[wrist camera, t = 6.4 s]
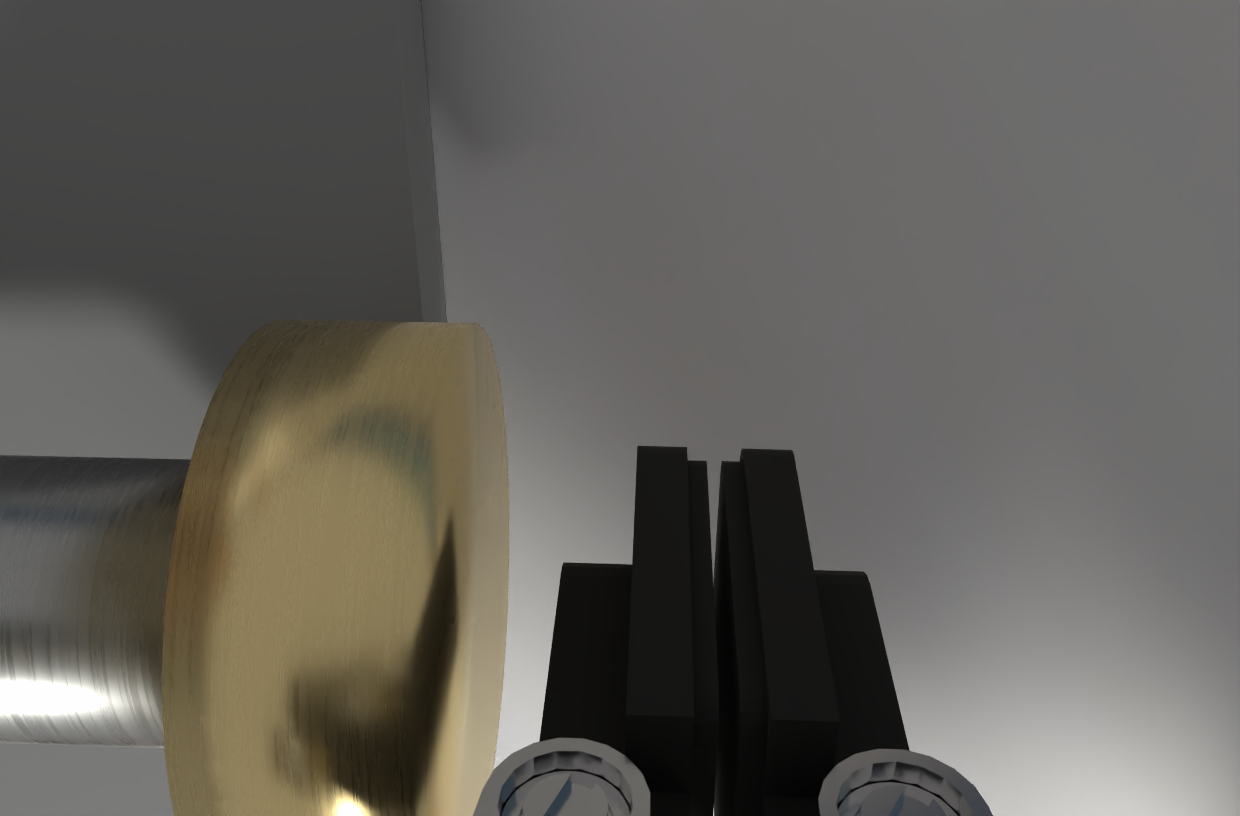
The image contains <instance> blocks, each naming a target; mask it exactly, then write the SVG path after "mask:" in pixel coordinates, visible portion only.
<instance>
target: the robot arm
mask: <svg viewBox="0 0 1240 816" xmlns="http://www.w3.org/2000/svg"><path fill="white" fill-rule="evenodd" d="M713 808H714V816H993V815H992V813H991V811H990V809H989V806H988V805H987V804H986V802H985V801H984V799H983V798H982V796H981V795H980V793H979V792H978V790H977V789H976V788H975V786H974V785H973V784H971V783H970V782H969V781H968V780H967V779H966V778H964V777H963V776H962V775H961V774H960V773H959V772H957V771H956V770H955V769H953V768H952V767H950V766H948V765H946V764H944V763H942V762H940V761H938V760H936V759H934V758H932V757H930V756H926V755H923V754H919V753H915V752H912V751H909V747H908V742H907V738H906V734H905V730H904V725H903V721H902V717H901V713H900V709H899V704H898V700H897V696H896V692H895V687H894V683H893V679H892V675H891V670H890V666H889V662H888V658H887V654H886V649H885V645H884V641H883V637H882V632H881V628H880V624H879V620H878V616H877V611H876V607H875V603H874V599H873V594H872V590H871V586H870V583H869V580H868V577H867V575H866V574H865V573H864V572H859V571H826V570H814V568H813V562H812V556H811V550H810V545H809V539H808V533H807V527H806V522H805V516H804V510H803V504H802V498H801V493H800V487H799V481H798V475H797V470H796V464H795V458H794V454H793V451H792V450H772V449H742V450H741V455H740V462H728V461H722V464H721V474H720V490H719V505H718V521H717V537H716V552H715V568H714V584H713V573H712V554H711V534H710V515H709V496H708V477H707V462H706V461H692V460H688V457H687V447H663V446H638V449H637V471H636V494H635V517H634V540H633V563H632V565H627V564H594V563H563V566H562V571H561V577H560V585H559V593H558V601H557V609H556V616H555V624H554V632H553V640H552V648H551V655H550V663H549V671H548V679H547V687H546V695H545V702H544V710H543V718H542V726H541V734H540V741H539V742H536V743H533V744H531V745H529V746H526V747H524V748H522V749H520V750H518V751H516V752H514V753H512V754H511V755H510V756H508V757H507V758H506V759H505V760H504V761H503V762H502V763H501V764H499V765H498V766H497V767H496V768H495V769H494V770H493V772H492V774H491V775H490V777H489V779H488V780H487V782H486V784H485V786H484V787H483V789H482V792H481V795H480V797H479V800H478V803H477V805H476V808H475V811H474V814H473V816H713Z"/></svg>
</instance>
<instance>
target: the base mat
mask: <svg viewBox="0 0 1240 816" xmlns="http://www.w3.org/2000/svg"><path fill="white" fill-rule="evenodd" d="M277 319H279V320H332V321H385V322H437V323H447V318H446V306H445V293H444V281H443V269H442V256H441V244H440V232H439V219H438V207H437V195H436V182H435V170H434V158H433V145H432V133H431V121H430V108H429V96H428V83H427V71H426V59H425V46H424V34H423V22H422V9H421V0H0V455H21V456H63V457H106V458H149V459H191V458H192V454H193V451H194V447H195V444H196V440H197V437H198V434H199V431H200V428H201V426H202V423H203V420H204V417H205V415H206V412H207V409H208V406H209V404H210V401H211V399H212V397H213V395H214V392H215V390H216V388H217V386H218V384H219V382H220V380H221V377H222V375H223V373H224V371H225V370H226V368H227V367H228V365H229V363H230V362H231V360H232V358H233V357H234V355H235V354H236V352H237V350H238V349H239V348H240V347H241V346H242V345H243V343H244V342H245V341H246V340H247V339H248V337H249V336H250V335H251V334H252V333H254V332H255V331H256V330H258V329H259V328H260V327H261V326H263V325H264V324H266V323H269V322H272V321H275V320H277ZM0 816H174V812H173V808H172V803H171V798H170V791H169V783H168V776H167V769H166V761H165V749H164V748H149V747H118V746H87V745H56V744H24V743H0Z"/></svg>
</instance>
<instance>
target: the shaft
mask: <svg viewBox="0 0 1240 816" xmlns="http://www.w3.org/2000/svg"><path fill="white" fill-rule="evenodd" d="M508 583H509V482H508V460H507V444H506V430H505V419H504V409H503V401H502V394H501V386H500V380H499V375H498V369H497V365H496V360H495V356H494V352H493V349H492V346H491V343H490V340H489V338H488V336H487V334H486V332H485V330H484V329H483V328H482V327H481V326H480V325H479V324H478V323H437V322H385V321H332V320H279V319H277V320H275V321H272V322H269V323H266V324H264V325H263V326H261V327H260V328H259V329H258V330H256V331H255V332H254V333H252V334H251V335H250V336H249V337H248V339H247V340H246V341H245V342H244V343H243V345H242V346H241V347H240V348H239V349H238V350H237V352H236V354H235V355H234V357H233V358H232V360H231V362H230V363H229V365H228V367H227V368H226V370H225V371H224V373H223V375H222V377H221V380H220V382H219V384H218V386H217V388H216V390H215V392H214V395H213V397H212V399H211V401H210V404H209V406H208V409H207V412H206V415H205V417H204V420H203V423H202V426H201V428H200V431H199V434H198V437H197V440H196V444H195V447H194V451H193V454H192V458H191V459H149V458H106V457H63V456H21V455H0V743H24V744H56V745H87V746H118V747H149V748H164V749H165V761H166V769H167V776H168V783H169V791H170V798H171V803H172V808H173V812H174V816H473V814H474V811H475V808H476V805H477V803H478V800H479V797H480V795H481V792H482V789H483V787H484V786H485V784H486V782H487V780H488V779H489V777H490V775H491V774H492V772H493V769H494V762H495V754H496V746H497V738H498V729H499V720H500V710H501V699H502V689H503V676H504V663H505V648H506V632H507V611H508Z"/></svg>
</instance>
